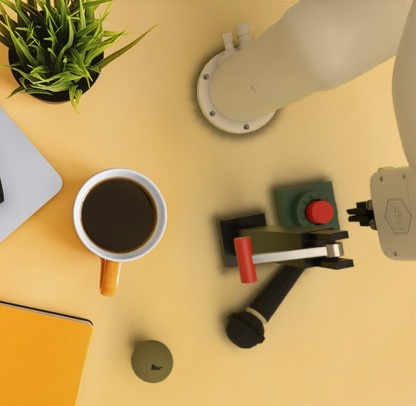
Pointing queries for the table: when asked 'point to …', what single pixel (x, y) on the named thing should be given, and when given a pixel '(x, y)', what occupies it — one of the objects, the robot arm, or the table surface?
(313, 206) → the button
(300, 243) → the switch pillar
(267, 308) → the microphone
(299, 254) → the switch lever
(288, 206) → the button box
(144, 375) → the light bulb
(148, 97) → the table surface
